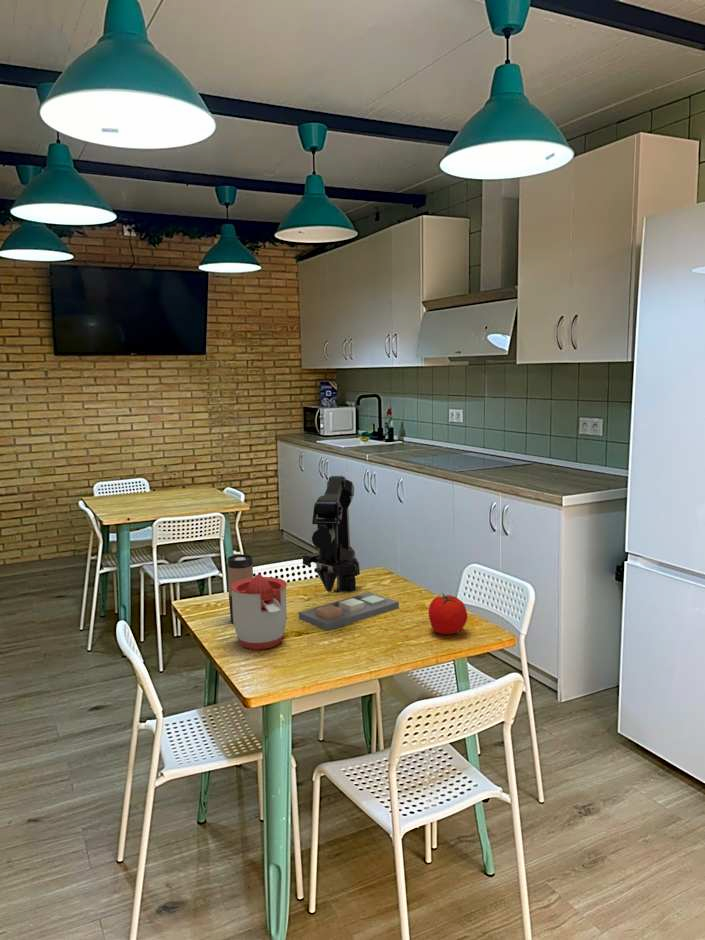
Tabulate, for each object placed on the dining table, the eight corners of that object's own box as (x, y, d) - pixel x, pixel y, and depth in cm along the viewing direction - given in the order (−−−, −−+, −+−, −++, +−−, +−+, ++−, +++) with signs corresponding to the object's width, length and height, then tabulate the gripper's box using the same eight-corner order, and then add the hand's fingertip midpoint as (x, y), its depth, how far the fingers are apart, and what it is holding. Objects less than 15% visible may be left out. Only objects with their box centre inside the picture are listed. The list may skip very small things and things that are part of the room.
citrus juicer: (250, 660, 188) (247, 587, 185) (224, 640, 202) (221, 572, 200) (301, 646, 196) (299, 577, 194) (273, 628, 211) (270, 563, 208)
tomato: (441, 622, 213) (441, 586, 212) (474, 631, 206) (475, 594, 205) (419, 634, 204) (418, 597, 203) (453, 643, 197) (453, 604, 196)
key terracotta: (316, 616, 214) (315, 608, 213) (330, 612, 217) (330, 604, 217) (327, 621, 210) (327, 613, 209) (342, 616, 213) (342, 608, 213)
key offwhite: (339, 609, 220) (338, 602, 219) (352, 605, 223) (352, 598, 223) (350, 613, 215) (350, 606, 215) (364, 609, 219) (364, 602, 219)
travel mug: (259, 618, 220) (257, 555, 217) (246, 626, 213) (243, 561, 210) (239, 615, 223) (236, 553, 221) (224, 622, 216) (222, 559, 214)
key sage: (360, 606, 226) (360, 598, 225) (373, 602, 229) (373, 595, 229) (372, 610, 221) (372, 603, 221) (385, 606, 225) (385, 599, 225)
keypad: (298, 621, 216) (298, 611, 216) (369, 600, 235) (369, 591, 235) (327, 634, 206) (327, 623, 205) (398, 610, 224) (398, 600, 224)
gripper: (369, 541, 209) (370, 592, 211) (329, 531, 223) (330, 580, 225) (340, 547, 201) (341, 600, 203) (301, 537, 215) (302, 587, 217)
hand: (329, 591), depth 212 cm, fingers closed
